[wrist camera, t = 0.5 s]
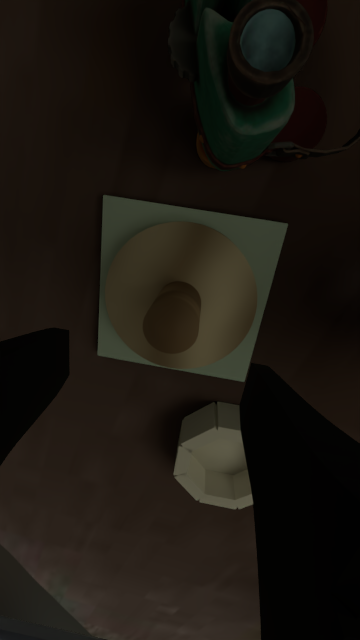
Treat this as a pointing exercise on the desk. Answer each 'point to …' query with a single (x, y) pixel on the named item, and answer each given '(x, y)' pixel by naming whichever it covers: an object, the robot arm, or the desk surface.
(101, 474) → the desk surface
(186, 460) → the bowl
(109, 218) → the mat
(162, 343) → the lid
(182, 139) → the desk surface
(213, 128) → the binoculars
